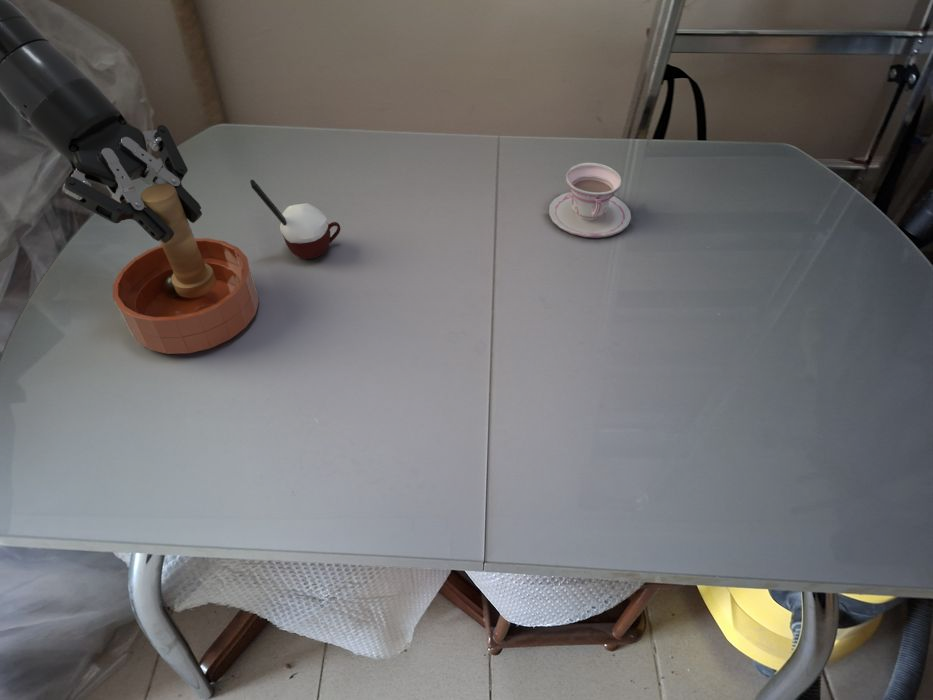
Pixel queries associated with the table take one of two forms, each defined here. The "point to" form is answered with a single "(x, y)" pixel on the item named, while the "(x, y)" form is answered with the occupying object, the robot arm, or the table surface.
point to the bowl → (186, 300)
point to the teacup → (591, 202)
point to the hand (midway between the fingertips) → (183, 227)
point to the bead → (170, 287)
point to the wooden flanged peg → (180, 243)
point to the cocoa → (302, 227)
